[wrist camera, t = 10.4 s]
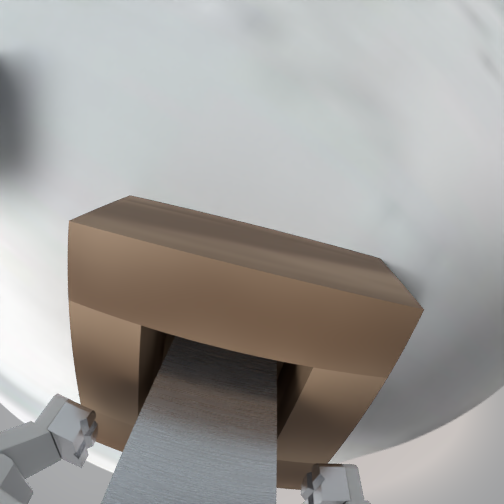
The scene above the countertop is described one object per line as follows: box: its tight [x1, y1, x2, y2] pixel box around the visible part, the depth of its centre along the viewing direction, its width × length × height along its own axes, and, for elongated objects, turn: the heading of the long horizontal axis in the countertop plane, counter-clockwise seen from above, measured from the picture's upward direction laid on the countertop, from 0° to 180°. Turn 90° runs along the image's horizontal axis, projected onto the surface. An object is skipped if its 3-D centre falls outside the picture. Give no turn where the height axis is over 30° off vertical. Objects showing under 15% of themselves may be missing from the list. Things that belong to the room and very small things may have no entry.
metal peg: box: [101, 336, 277, 504], centre depth 9 cm, size 4×4×12 cm
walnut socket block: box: [68, 196, 424, 490], centre depth 13 cm, size 12×12×5 cm
